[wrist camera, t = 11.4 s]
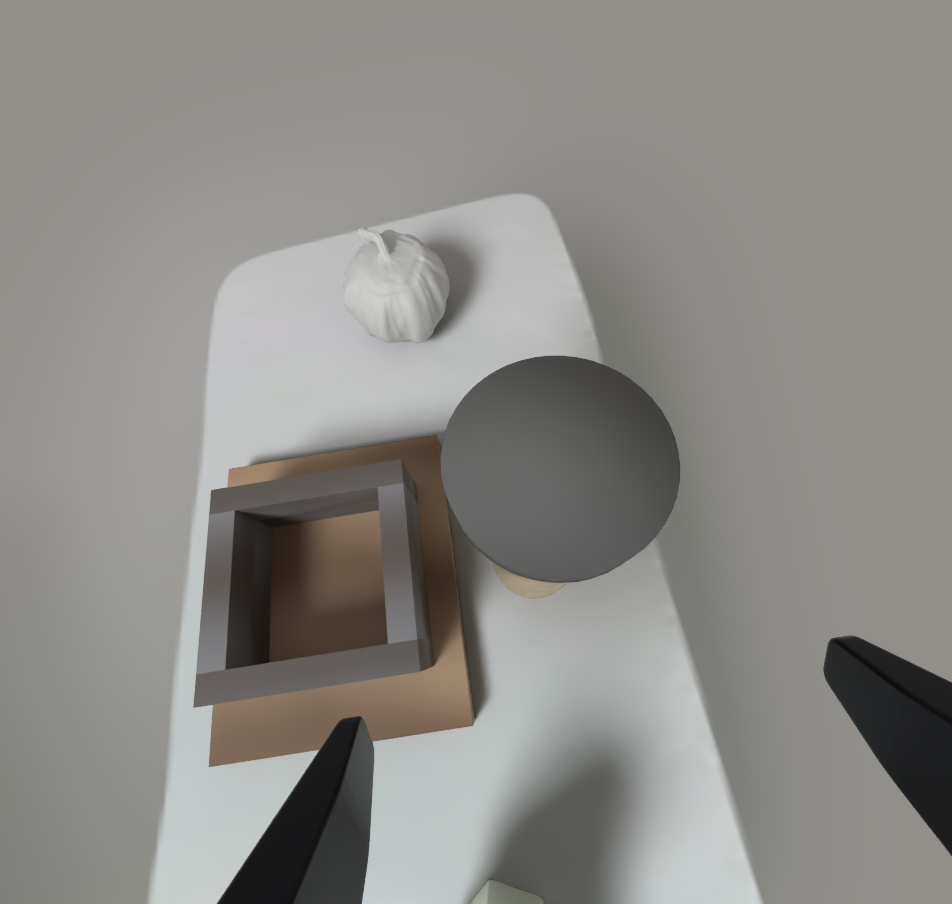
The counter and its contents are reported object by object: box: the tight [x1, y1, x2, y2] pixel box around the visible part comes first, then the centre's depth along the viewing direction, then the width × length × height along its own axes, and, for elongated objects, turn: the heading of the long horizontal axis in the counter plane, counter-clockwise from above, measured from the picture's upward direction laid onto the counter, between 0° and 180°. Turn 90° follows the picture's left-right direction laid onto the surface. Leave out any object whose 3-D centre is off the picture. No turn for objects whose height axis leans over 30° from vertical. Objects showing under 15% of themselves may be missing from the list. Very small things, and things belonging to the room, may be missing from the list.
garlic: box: [343, 227, 450, 343], centre depth 23 cm, size 6×5×5 cm
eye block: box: [194, 435, 475, 767], centre depth 18 cm, size 12×10×4 cm
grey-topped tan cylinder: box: [441, 356, 680, 598], centre depth 14 cm, size 5×5×12 cm
